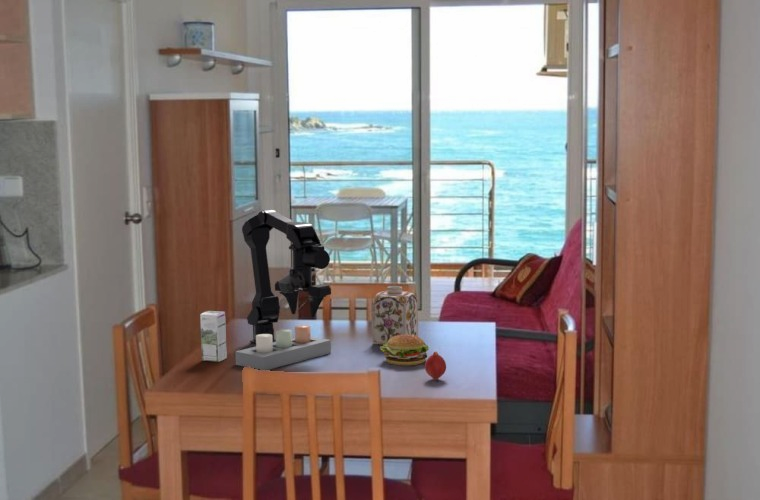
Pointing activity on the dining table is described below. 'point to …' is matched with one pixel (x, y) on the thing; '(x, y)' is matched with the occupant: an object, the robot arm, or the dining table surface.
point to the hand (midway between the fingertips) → (303, 315)
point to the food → (405, 350)
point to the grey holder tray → (283, 354)
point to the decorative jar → (394, 314)
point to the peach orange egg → (302, 334)
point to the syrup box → (213, 336)
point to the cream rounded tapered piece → (264, 343)
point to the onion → (435, 366)
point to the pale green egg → (283, 338)
